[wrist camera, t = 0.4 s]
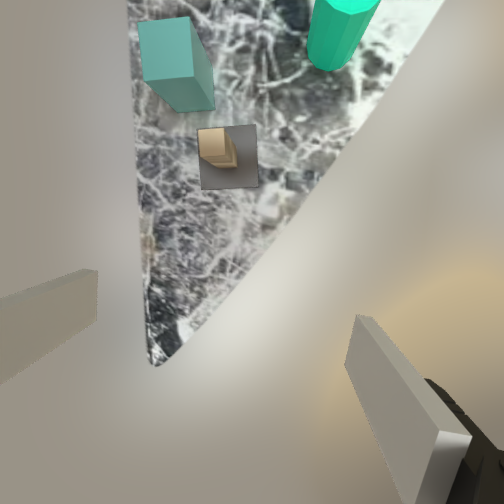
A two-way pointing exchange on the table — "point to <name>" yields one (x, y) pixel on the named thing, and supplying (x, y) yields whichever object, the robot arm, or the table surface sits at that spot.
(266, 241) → the table surface
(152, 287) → the table surface
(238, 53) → the table surface
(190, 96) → the turquoise rectangular block
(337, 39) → the candle
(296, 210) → the table surface
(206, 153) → the gray square base stand
